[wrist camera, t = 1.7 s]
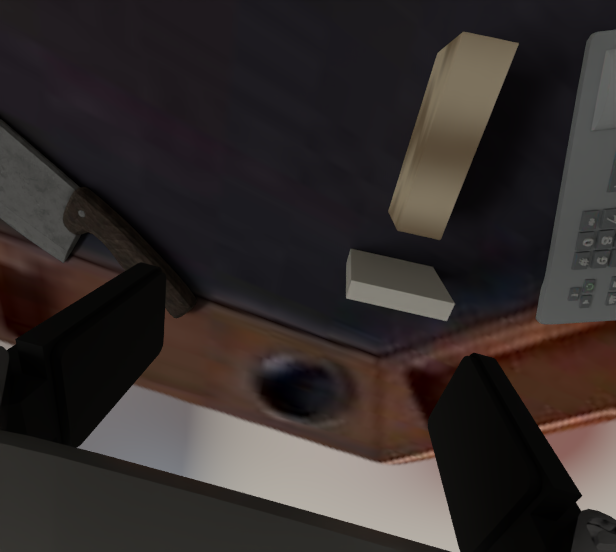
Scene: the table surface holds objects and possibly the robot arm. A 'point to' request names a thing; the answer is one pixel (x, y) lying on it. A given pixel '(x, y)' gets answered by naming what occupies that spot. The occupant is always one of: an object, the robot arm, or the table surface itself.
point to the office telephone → (586, 200)
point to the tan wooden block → (449, 131)
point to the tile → (396, 285)
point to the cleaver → (71, 215)
